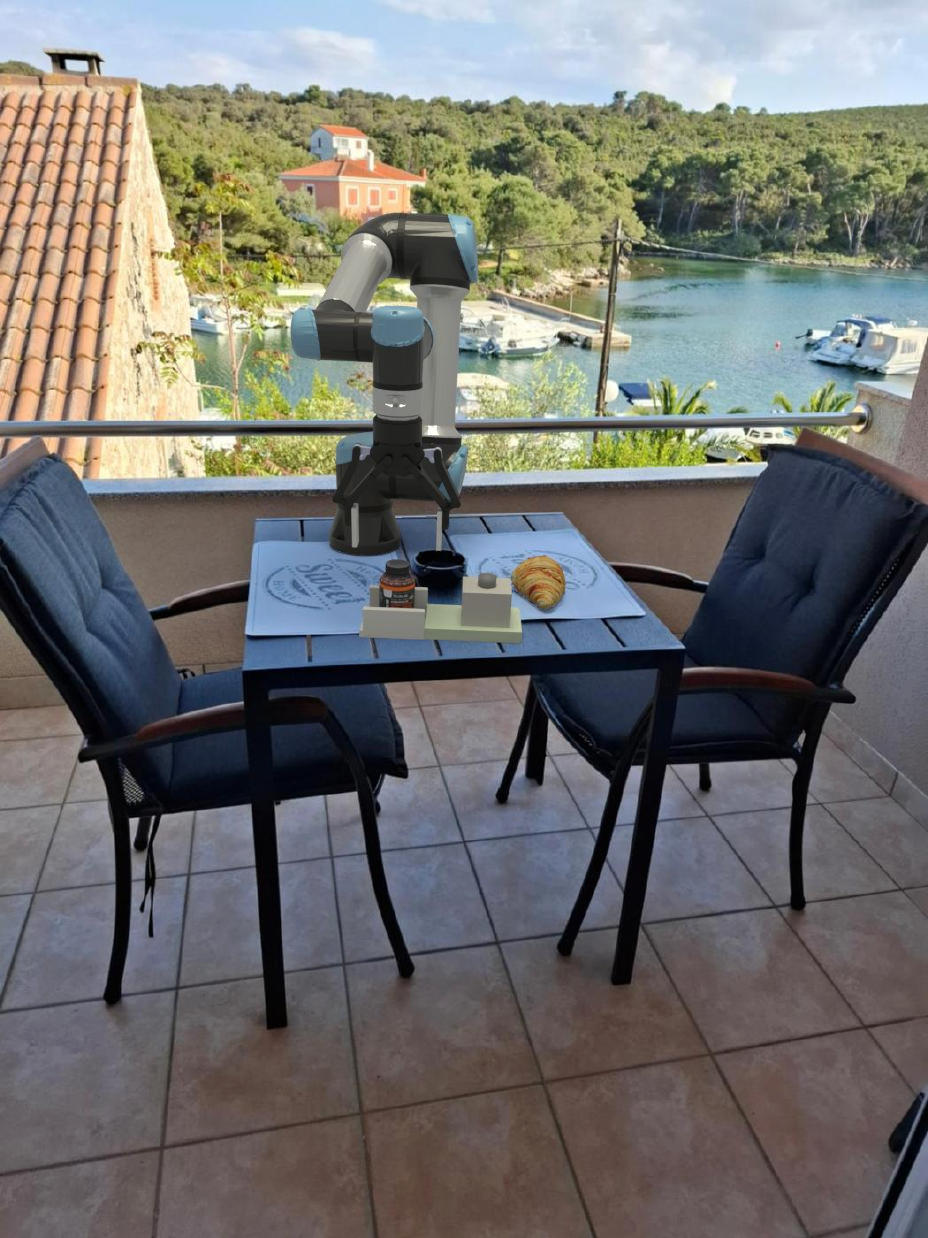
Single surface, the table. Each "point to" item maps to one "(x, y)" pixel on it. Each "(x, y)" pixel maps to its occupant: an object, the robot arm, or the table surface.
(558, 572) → the croissant
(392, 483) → the robot arm
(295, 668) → the table surface
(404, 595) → the supplement bottle
